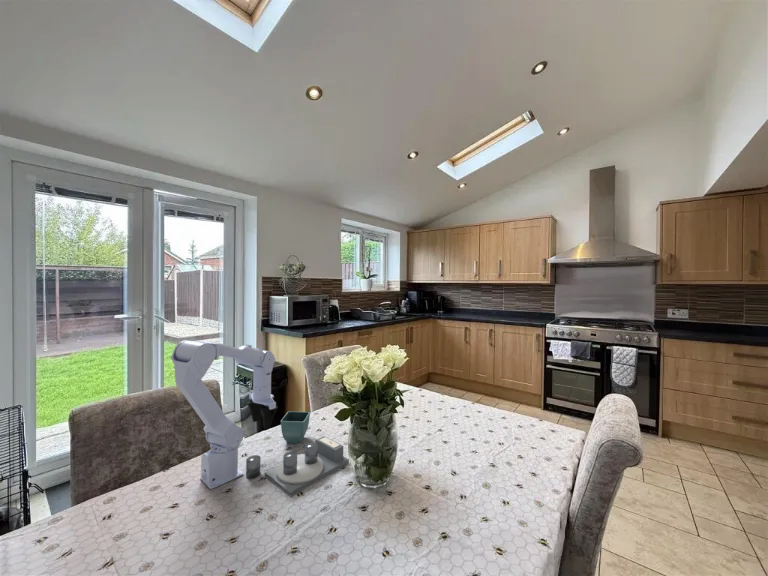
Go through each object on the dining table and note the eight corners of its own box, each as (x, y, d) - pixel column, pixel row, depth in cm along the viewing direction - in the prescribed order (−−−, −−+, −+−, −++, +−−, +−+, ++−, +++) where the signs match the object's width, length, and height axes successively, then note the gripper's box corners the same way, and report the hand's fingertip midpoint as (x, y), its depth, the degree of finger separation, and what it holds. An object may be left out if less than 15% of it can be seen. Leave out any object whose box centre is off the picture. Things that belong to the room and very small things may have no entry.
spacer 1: (250, 480, 93) (250, 464, 93) (243, 475, 96) (243, 459, 96) (262, 474, 96) (262, 458, 96) (256, 469, 99) (256, 453, 99)
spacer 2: (288, 477, 92) (289, 460, 92) (280, 472, 94) (280, 455, 94) (299, 470, 95) (300, 454, 95) (291, 466, 97) (291, 450, 97)
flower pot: (303, 446, 113) (304, 421, 113) (279, 445, 114) (280, 421, 114) (310, 434, 122) (310, 411, 122) (287, 434, 122) (287, 411, 122)
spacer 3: (309, 466, 97) (309, 450, 97) (301, 461, 100) (302, 445, 100) (319, 460, 100) (320, 445, 100) (312, 456, 103) (312, 441, 103)
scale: (290, 496, 87) (290, 476, 87) (264, 475, 96) (264, 457, 96) (348, 463, 103) (349, 446, 103) (322, 448, 112) (322, 432, 112)
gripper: (284, 387, 107) (283, 426, 107) (262, 378, 116) (262, 414, 116) (264, 392, 101) (264, 434, 102) (243, 382, 111) (243, 420, 111)
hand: (261, 424), depth 109 cm, fingers open, 7 cm apart
